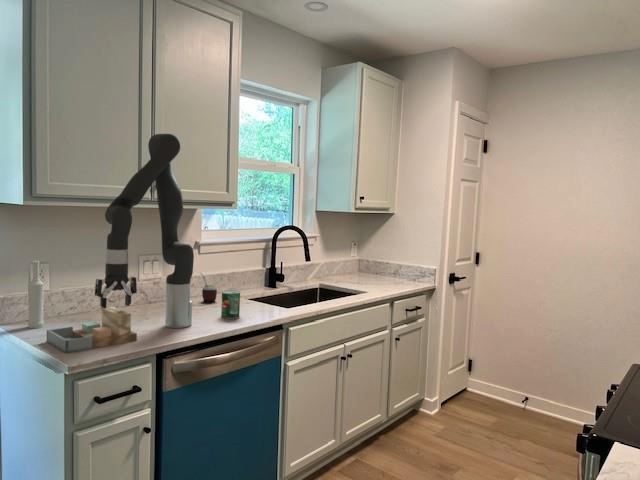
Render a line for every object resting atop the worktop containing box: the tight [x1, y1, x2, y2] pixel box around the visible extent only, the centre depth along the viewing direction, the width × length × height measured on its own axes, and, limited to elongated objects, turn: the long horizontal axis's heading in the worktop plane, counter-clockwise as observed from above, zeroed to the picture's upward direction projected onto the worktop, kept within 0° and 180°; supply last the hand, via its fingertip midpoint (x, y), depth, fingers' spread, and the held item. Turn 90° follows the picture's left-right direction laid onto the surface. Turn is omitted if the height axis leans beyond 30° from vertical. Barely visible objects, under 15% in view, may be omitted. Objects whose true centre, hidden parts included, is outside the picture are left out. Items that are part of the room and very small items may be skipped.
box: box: [46, 326, 93, 354], centre depth 167 cm, size 8×17×4 cm, turn 47°
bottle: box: [27, 260, 45, 329], centre depth 186 cm, size 5×5×25 cm
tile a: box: [81, 321, 101, 333], centre depth 176 cm, size 4×4×2 cm
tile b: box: [92, 326, 111, 338], centre depth 170 cm, size 4×4×2 cm
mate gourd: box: [199, 272, 218, 304], centre depth 245 cm, size 8×8×15 cm
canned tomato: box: [220, 289, 241, 320], centre depth 217 cm, size 8×8×11 cm
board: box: [73, 325, 138, 349], centre depth 175 cm, size 16×17×2 cm
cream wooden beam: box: [101, 306, 132, 335], centre depth 178 cm, size 4×14×7 cm, turn 47°
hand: (115, 306), depth 177 cm, fingers open, 8 cm apart
